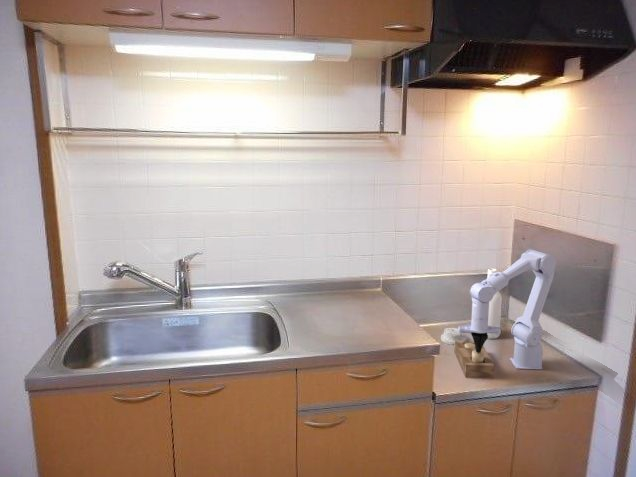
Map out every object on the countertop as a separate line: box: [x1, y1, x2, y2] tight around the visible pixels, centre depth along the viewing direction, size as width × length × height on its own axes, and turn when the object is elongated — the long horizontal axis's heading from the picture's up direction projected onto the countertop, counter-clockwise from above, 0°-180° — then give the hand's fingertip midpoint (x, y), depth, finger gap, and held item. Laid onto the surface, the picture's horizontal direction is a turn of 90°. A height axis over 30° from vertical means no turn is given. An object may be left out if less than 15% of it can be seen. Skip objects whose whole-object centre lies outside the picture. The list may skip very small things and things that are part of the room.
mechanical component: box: [440, 327, 466, 346], centre depth 196 cm, size 10×4×10 cm
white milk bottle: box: [486, 267, 503, 340], centre depth 196 cm, size 9×9×30 cm
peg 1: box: [465, 343, 475, 348], centre depth 180 cm, size 4×4×5 cm
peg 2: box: [472, 350, 484, 363], centre depth 168 cm, size 4×4×5 cm
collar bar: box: [453, 340, 496, 379], centre depth 174 cm, size 10×20×5 cm, turn 175°
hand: (478, 351), depth 167 cm, fingers closed
